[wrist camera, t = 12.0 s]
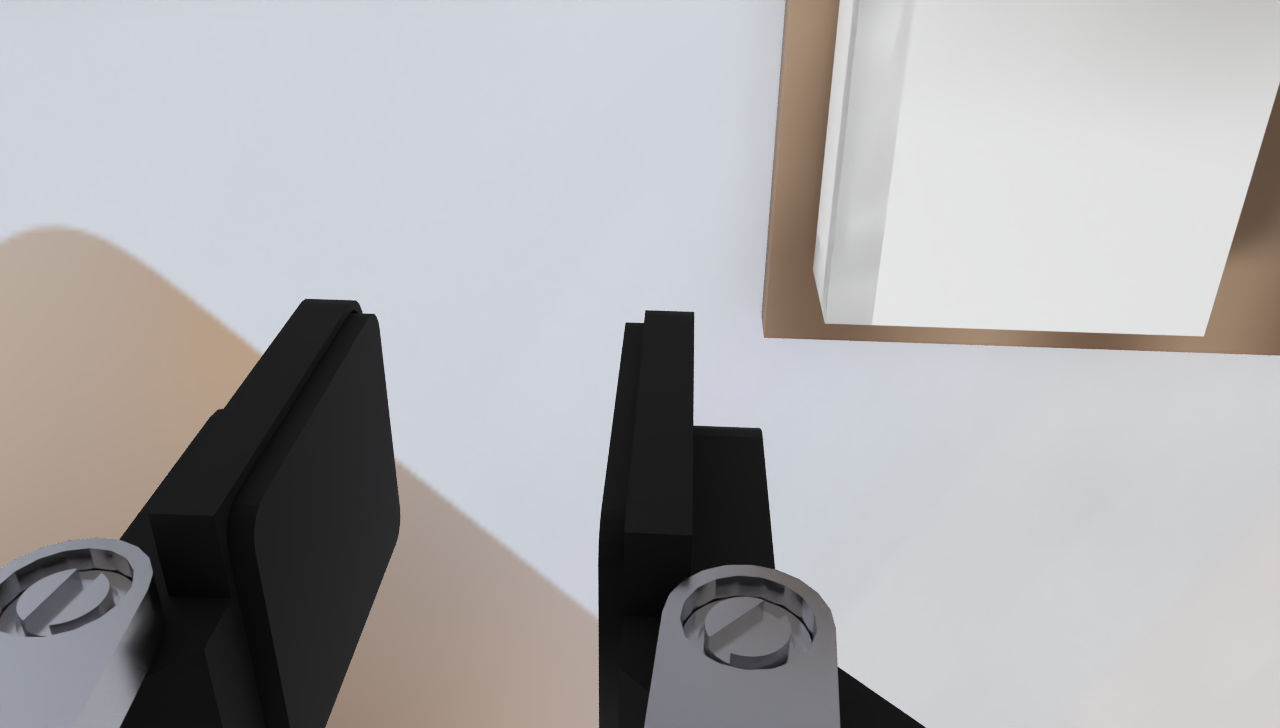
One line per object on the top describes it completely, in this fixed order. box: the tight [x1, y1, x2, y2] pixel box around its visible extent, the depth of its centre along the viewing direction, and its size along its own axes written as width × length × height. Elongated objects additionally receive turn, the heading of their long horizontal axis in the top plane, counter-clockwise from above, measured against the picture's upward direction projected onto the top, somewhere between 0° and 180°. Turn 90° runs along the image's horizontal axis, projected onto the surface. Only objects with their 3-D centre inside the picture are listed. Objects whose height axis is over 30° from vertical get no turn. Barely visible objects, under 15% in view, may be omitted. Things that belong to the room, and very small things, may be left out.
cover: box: [813, 0, 1280, 336], centre depth 23 cm, size 8×8×3 cm
